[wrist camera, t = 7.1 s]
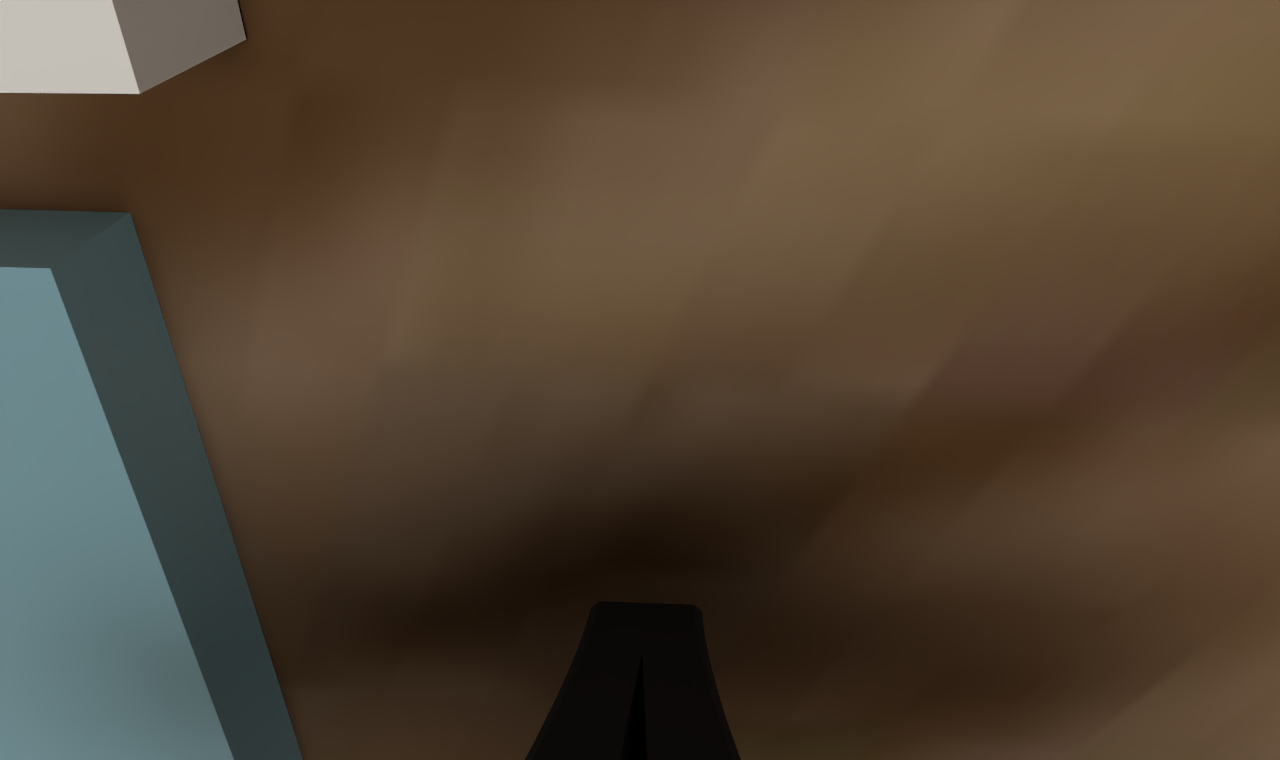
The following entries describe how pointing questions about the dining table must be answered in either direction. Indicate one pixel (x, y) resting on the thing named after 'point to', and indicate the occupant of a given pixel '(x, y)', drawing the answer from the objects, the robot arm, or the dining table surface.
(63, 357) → the rectangular block
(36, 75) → the rack
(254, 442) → the dining table surface
